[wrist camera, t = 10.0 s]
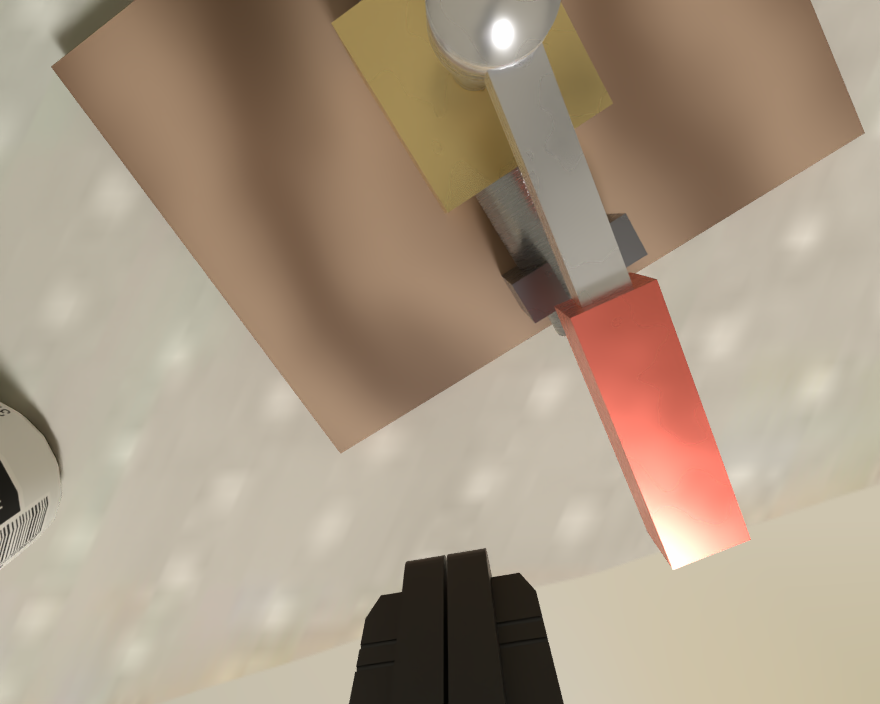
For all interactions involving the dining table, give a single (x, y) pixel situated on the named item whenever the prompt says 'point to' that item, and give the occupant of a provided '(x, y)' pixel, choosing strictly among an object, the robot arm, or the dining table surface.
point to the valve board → (402, 186)
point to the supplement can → (25, 484)
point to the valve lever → (598, 284)
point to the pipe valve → (475, 134)
